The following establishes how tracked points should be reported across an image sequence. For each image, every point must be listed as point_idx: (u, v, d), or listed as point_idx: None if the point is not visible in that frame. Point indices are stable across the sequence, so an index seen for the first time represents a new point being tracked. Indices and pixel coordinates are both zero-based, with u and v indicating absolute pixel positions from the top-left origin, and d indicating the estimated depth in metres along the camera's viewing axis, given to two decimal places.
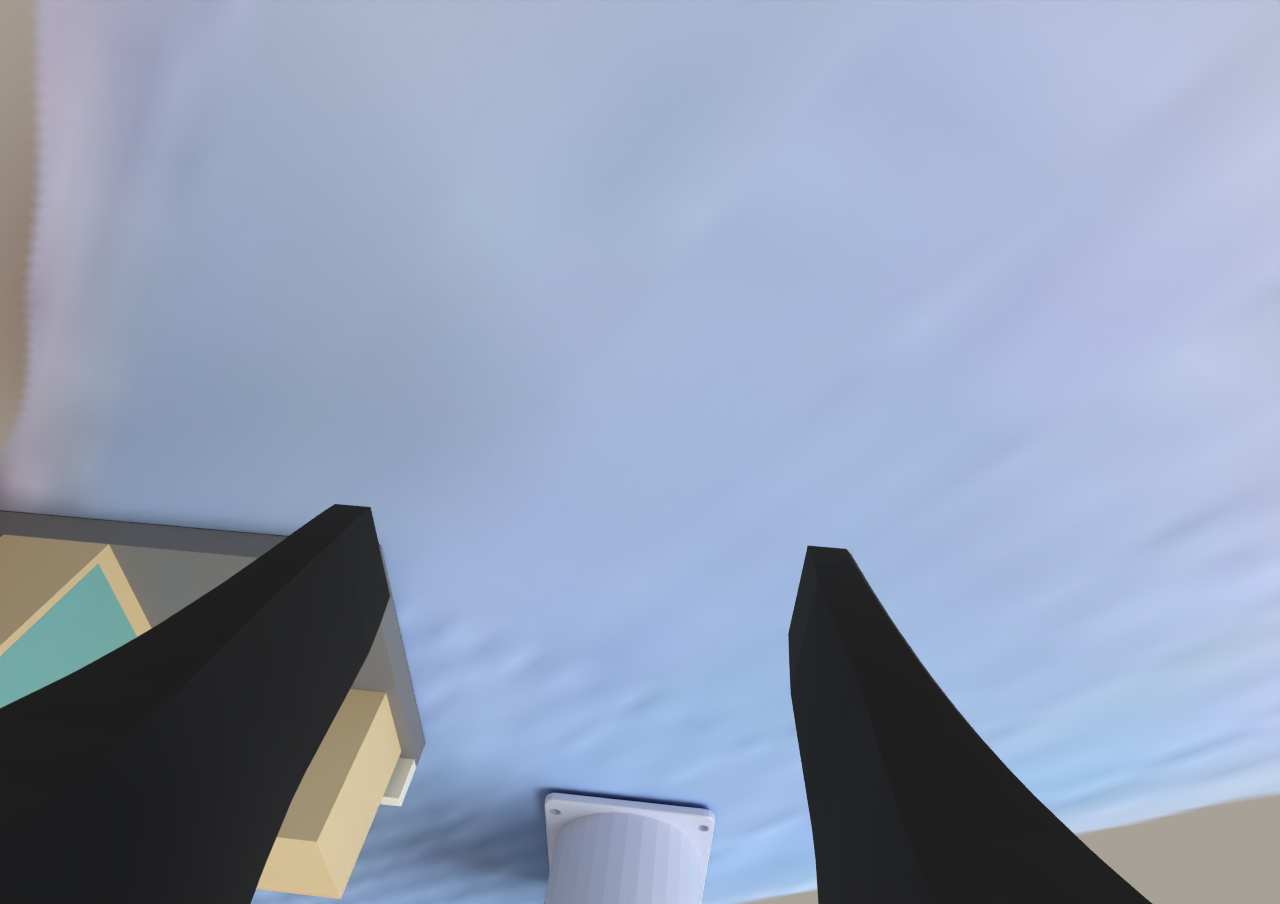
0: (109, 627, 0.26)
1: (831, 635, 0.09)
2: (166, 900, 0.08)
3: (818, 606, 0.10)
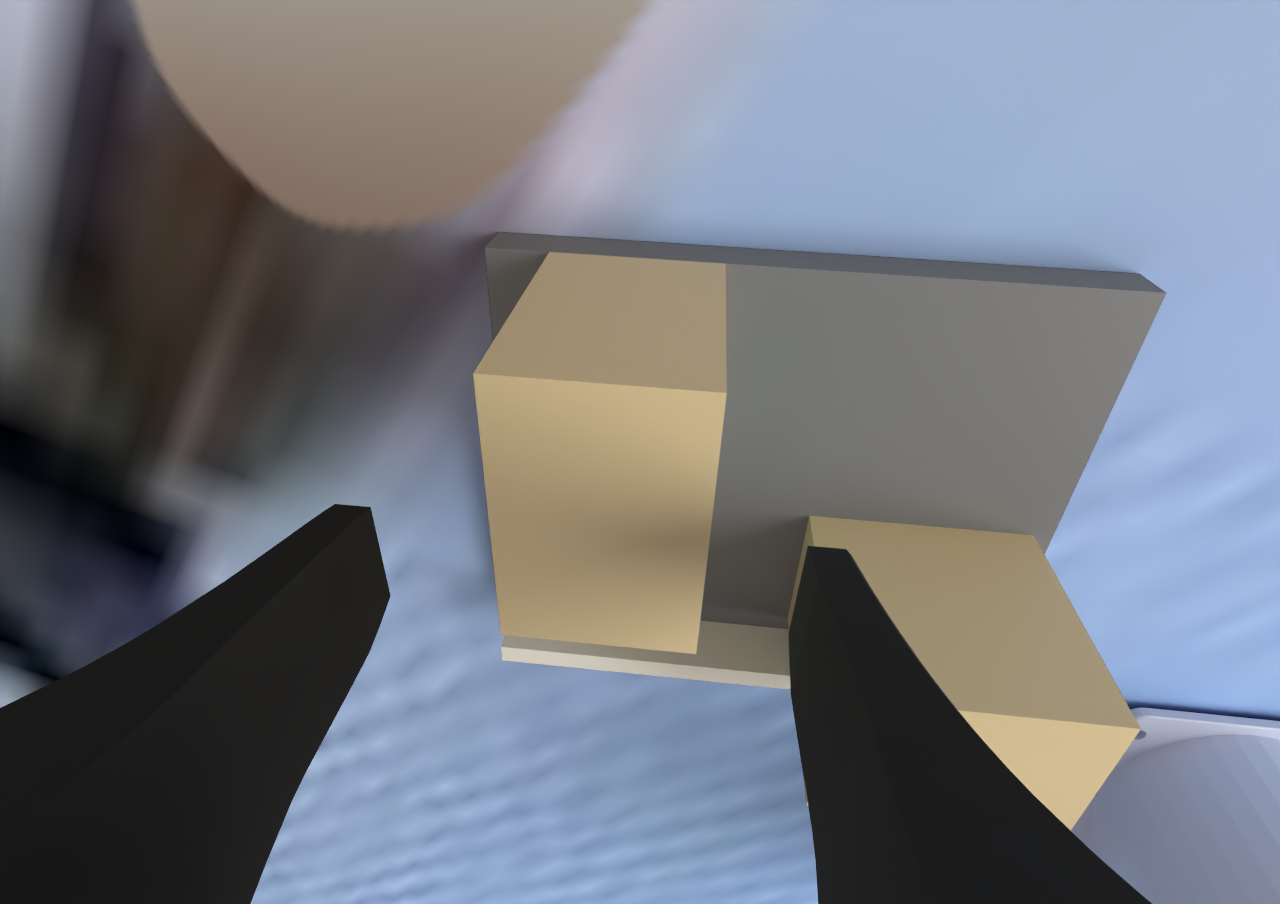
0: None
1: (831, 635, 0.09)
2: (166, 900, 0.08)
3: (818, 606, 0.10)
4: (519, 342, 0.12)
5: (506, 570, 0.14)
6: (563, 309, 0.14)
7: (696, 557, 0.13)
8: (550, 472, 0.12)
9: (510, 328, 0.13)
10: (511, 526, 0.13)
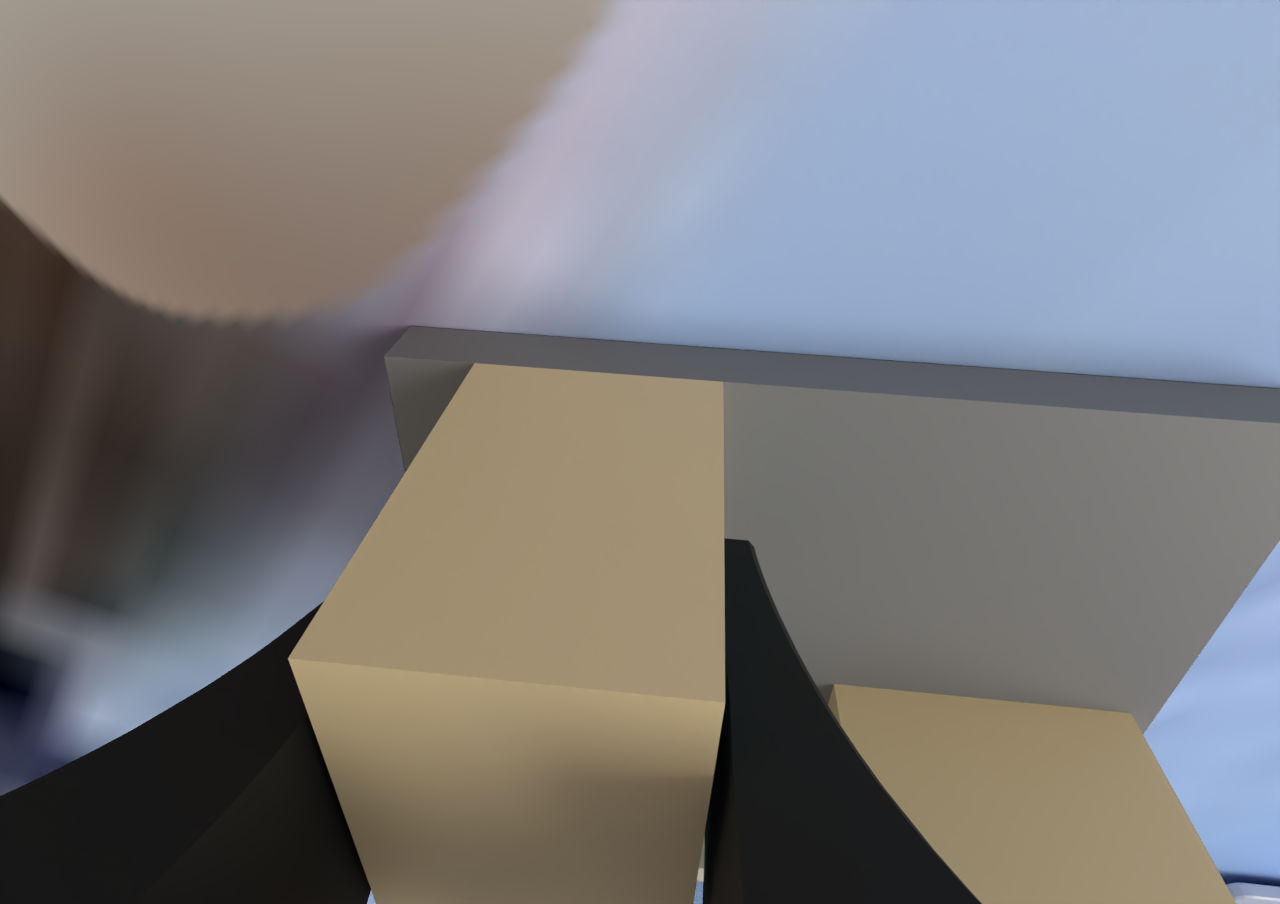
0: None
1: None
2: None
3: None
4: (387, 570, 0.08)
5: (387, 885, 0.09)
6: (473, 486, 0.09)
7: (678, 888, 0.08)
8: (437, 784, 0.07)
9: (380, 535, 0.08)
10: (386, 840, 0.08)
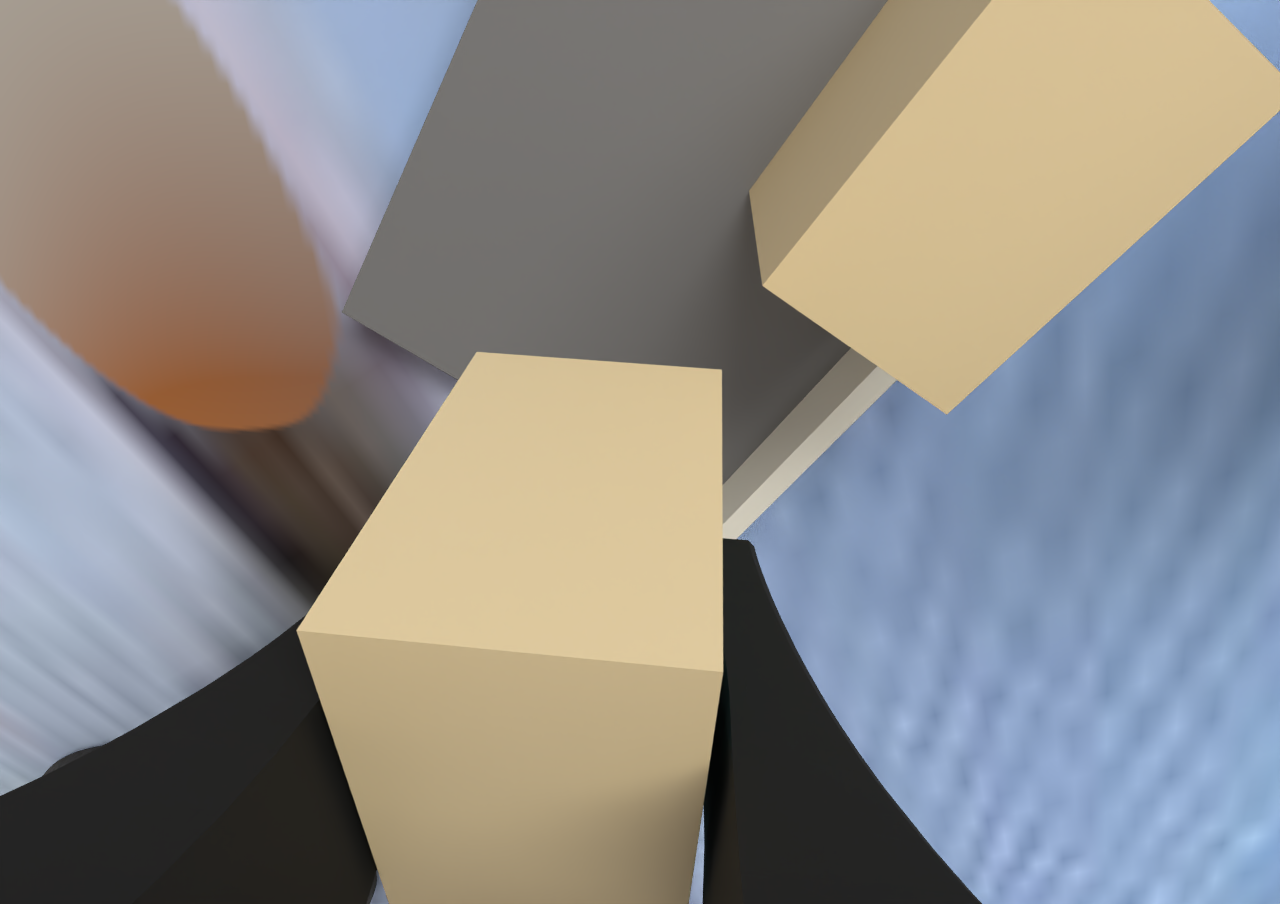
0: None
1: None
2: None
3: None
4: (392, 547, 0.08)
5: (392, 861, 0.09)
6: (476, 469, 0.09)
7: (677, 861, 0.08)
8: (441, 756, 0.08)
9: (385, 514, 0.08)
10: (391, 814, 0.08)
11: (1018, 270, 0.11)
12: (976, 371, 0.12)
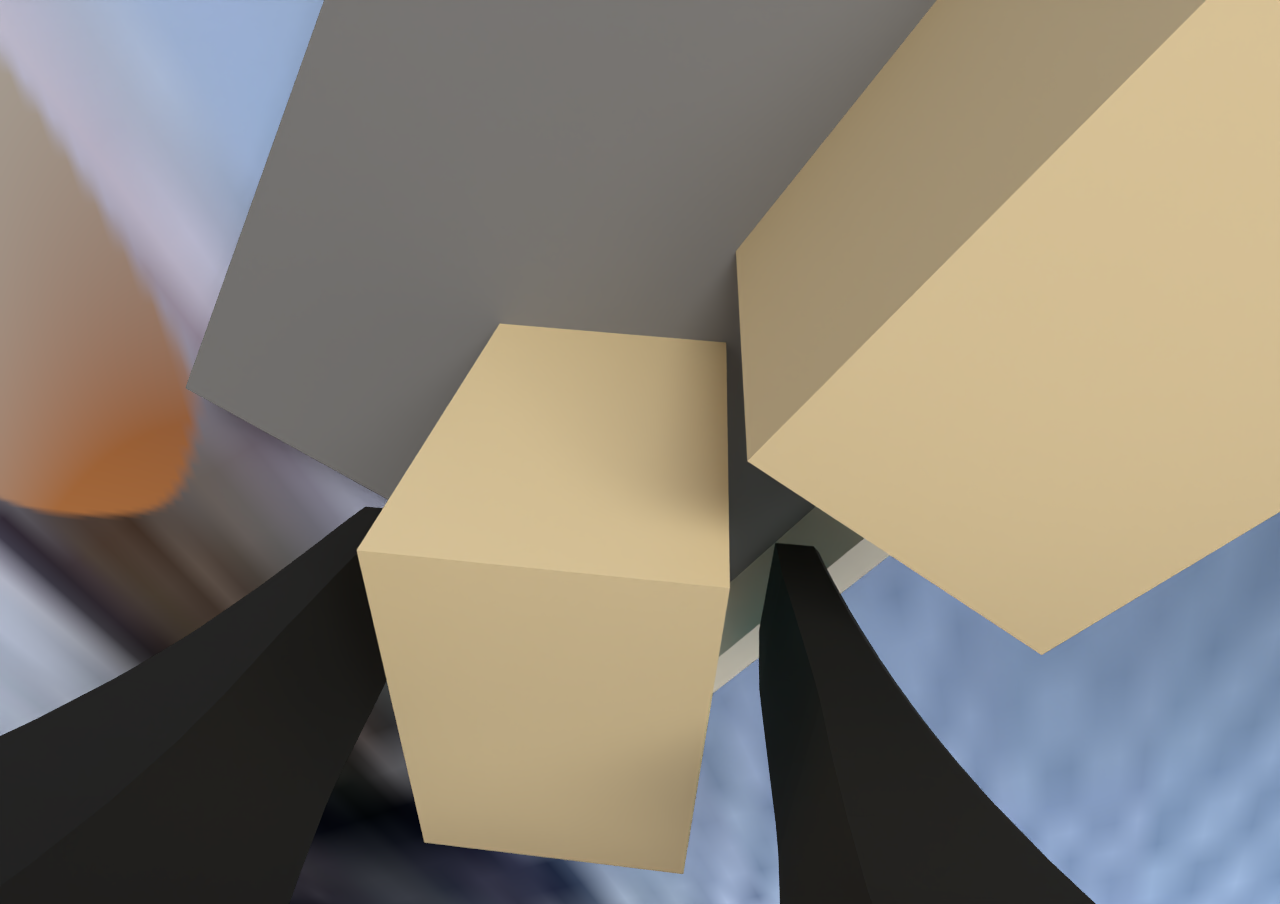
0: None
1: (792, 631, 0.09)
2: None
3: (782, 603, 0.10)
4: (435, 486, 0.09)
5: (425, 776, 0.10)
6: (505, 423, 0.10)
7: (684, 774, 0.09)
8: (477, 672, 0.09)
9: (426, 459, 0.09)
10: (428, 729, 0.09)
11: (1199, 459, 0.06)
12: (1100, 600, 0.07)
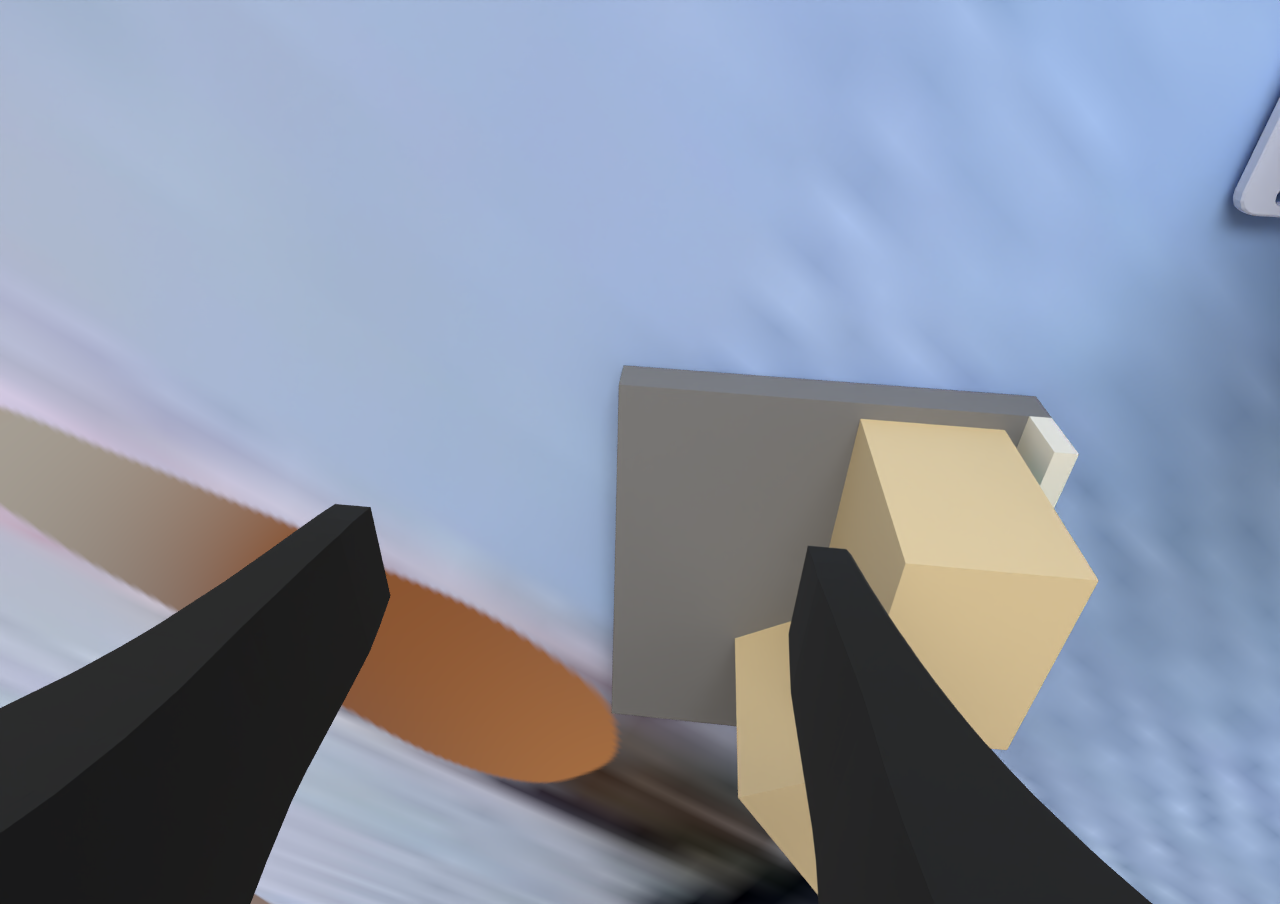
0: None
1: (831, 635, 0.09)
2: (166, 900, 0.08)
3: (818, 606, 0.10)
4: (751, 755, 0.22)
5: (803, 866, 0.23)
6: (763, 708, 0.23)
7: None
8: (800, 822, 0.21)
9: (741, 742, 0.22)
10: (794, 848, 0.22)
11: (995, 686, 0.17)
12: (1008, 728, 0.18)
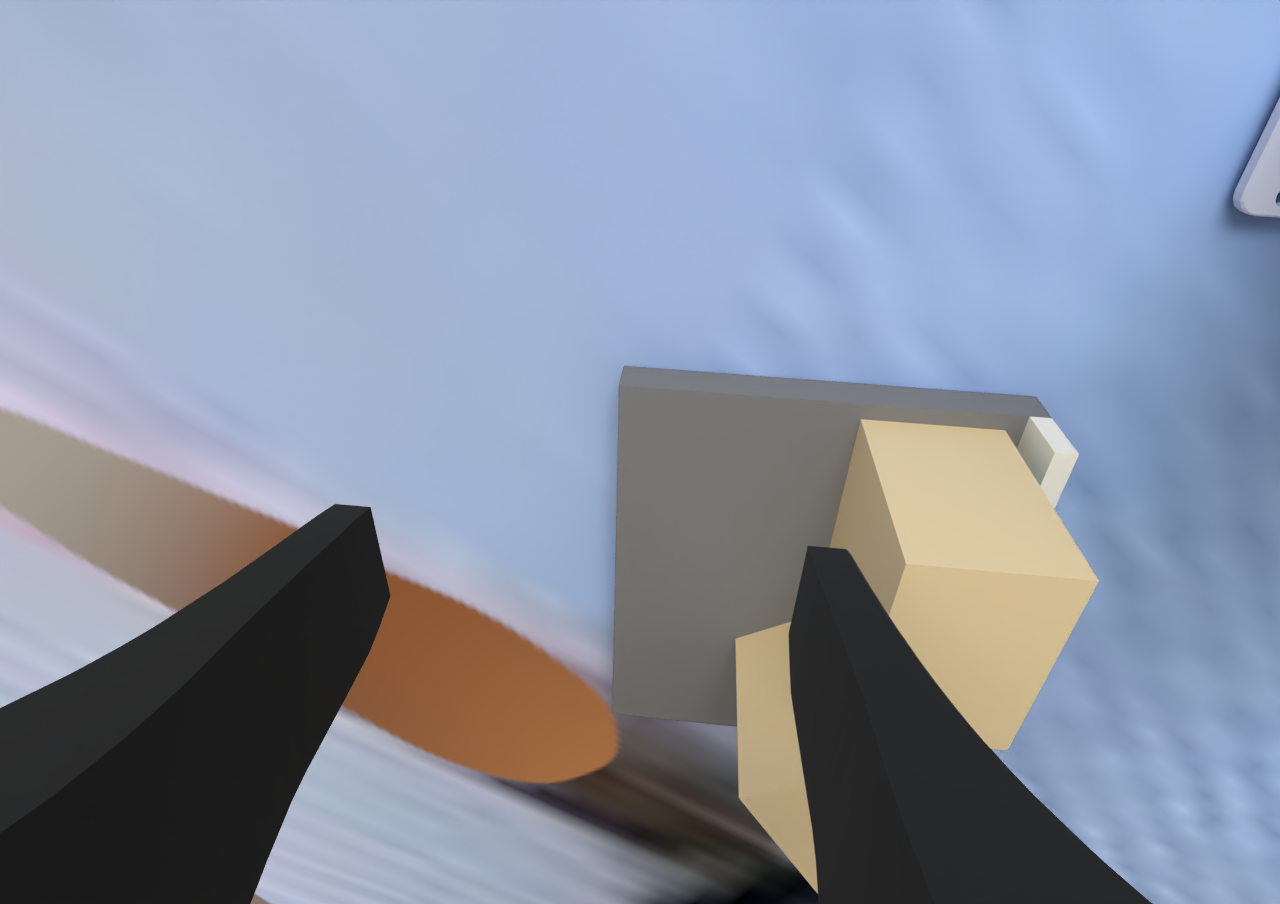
0: None
1: (831, 635, 0.09)
2: (166, 900, 0.08)
3: (818, 606, 0.10)
4: (751, 756, 0.22)
5: (804, 867, 0.23)
6: (763, 708, 0.23)
7: None
8: (801, 822, 0.21)
9: (742, 742, 0.22)
10: (794, 848, 0.22)
11: (996, 686, 0.17)
12: (1009, 729, 0.18)
